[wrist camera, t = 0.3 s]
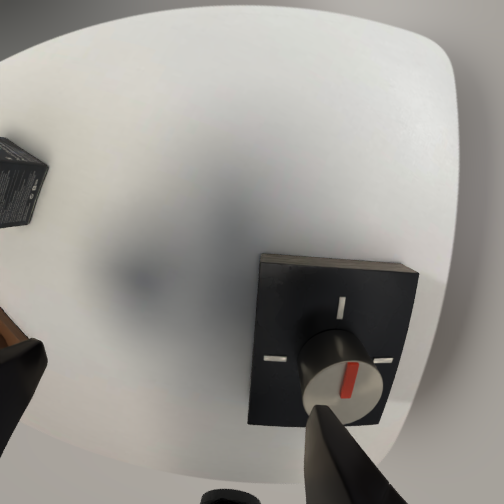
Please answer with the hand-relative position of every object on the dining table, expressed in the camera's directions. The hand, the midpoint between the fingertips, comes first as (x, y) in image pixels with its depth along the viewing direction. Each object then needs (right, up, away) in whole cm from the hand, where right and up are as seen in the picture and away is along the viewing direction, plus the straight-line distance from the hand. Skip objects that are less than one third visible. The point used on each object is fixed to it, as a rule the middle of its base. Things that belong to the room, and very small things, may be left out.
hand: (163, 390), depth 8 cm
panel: (+8, -2, +13) cm, 15 cm away
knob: (+8, -3, +10) cm, 13 cm away
